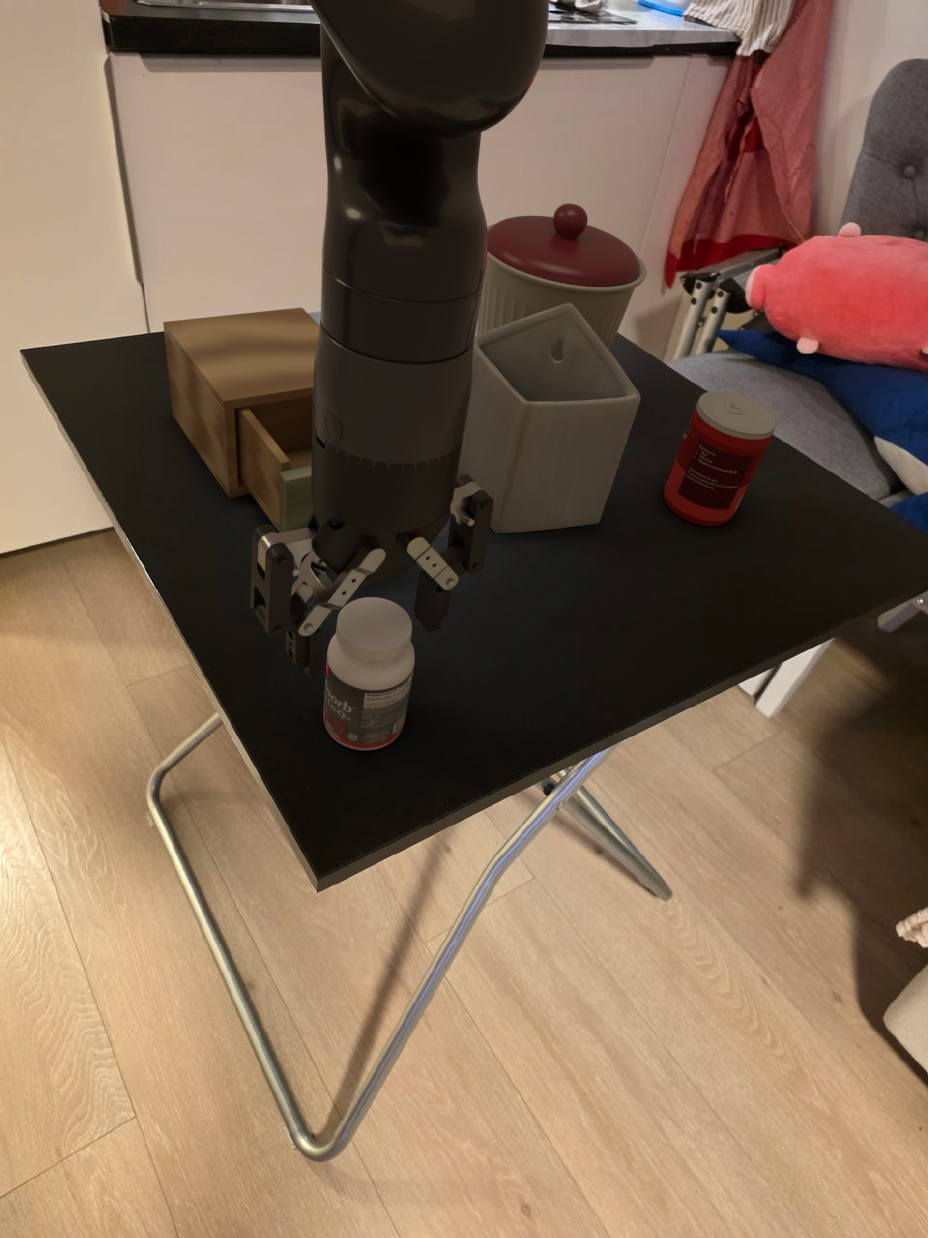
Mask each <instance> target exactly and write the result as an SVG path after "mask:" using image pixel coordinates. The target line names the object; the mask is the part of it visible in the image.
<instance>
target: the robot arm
mask: <svg viewBox="0 0 928 1238" xmlns="http://www.w3.org/2000/svg"><path fill="white" fill-rule="evenodd" d="M307 2H308V4H309V5H310V7H311V9H312V10H313V12H314V13H315V15H316V17H317V18H318V20H319V40H320V41H319V42H320V43H319V44H320V69H321V70H320V73H321V75H320V76H321V96H322V112H323V115H322V116H323V132H324V150H325V160H326V161H325V162H326V176H327V179H326V181H327V182H326V183H327V184H326V203H325V215H324V216H325V217H324V224H323V225H324V226H323V233H322V234H323V235H322V245H321V286H320V287H321V288H320V319H319V325H320V329H319V337H318V343H317V348H316V354H315V361H314V372H313V420H312V466H311V489H312V498H313V510H312V513H311V516H310V518H309V519H308V521H307V523H306V525H305V528H301V529H297V530H292V531H287V532H282V533H279V532H278V531H277V530H276V528H275V527H273V526H272V525H270V524H267V523H265V524H262V525H259V526H258V527H256V528H255V530H254V531H252V532H253V533H252V538H251V539H252V543H251V569H250V570H251V571H250V572H251V573H250V603H249V605H250V608H251V610H252V611H253V613H254V614H255V615H256V616H257V618H258V619H259V621H260V623H261V624H262V626H263V627H264V630H265V633H266V634H267V635H268V637H270V638H272V639H278V638H281V637H283V636H285V651H286V653H287V654H288V656H289V658H290V659H291V661H292V663H293V664H294V665H295V667H296V668H297V670H298V671H300V670H303V672H304V673H305V674H306V676H310V675H314V674H316V673H319V672H320V671H321V654H322V650H321V649H322V630H321V629H320V626H321V625H322V624H323V622H324V621H325V620H326V619H327V618H328V616H329V615H330V613H332V611H333V610H335V609H336V610H342V609H343V607H344V606H346V605H347V602H348V601H349V600H350V599H351V597H352V596H353V595H354V593H355V592H356V591H357V590H358V589H362V588H363V587H367V586H371V585H373V584H375V583H377V582H379V581H381V580H383V579H386V578H387V579H388V578H397V577H401V576H404V575H406V574H408V570H409V569H411V568H412V567H413V566H414V565H415V564H416V563H417V564H418V565H419V566H420V567H421V568H422V569H423V570H420V571H419V572H418V577H417V584H416V585H417V586H416V591H415V597H414V598H415V600H414V606H413V612H414V616H415V618H416V619H417V620H418V622H419V623H420V624H421V626H422V627H423V628H424V629H425V630H426V631H427V632H428V633H431V632H432V633H433V632H435V631H437V630H440V628H441V625H442V621H443V620H445V618H446V616H447V615H448V611H449V606H450V601H451V597H452V596H451V595H452V590H453V589H454V587H456V586H457V585H458V583H459V580H460V578H459V577H461V576H463V575H464V574H466V573H468V574H469V575H473V576H474V575H476V574H478V573H479V572H481V571H482V569H483V568H484V566H485V561H486V555H487V549H488V541H489V534H490V529H491V528H490V523H491V516H492V510H493V503H494V501H493V499H492V498H491V497H490V496H489V495H488V494H487V493H486V492H485V491H484V490H483V489H482V488H481V487H480V486H479V485H478V484H477V483H476V482H475V481H474V480H473V479H472V478H471V477H470V476H469V475H466V474H465V475H462V476H460V477H459V478H458V479H457V480H456V478H457V472H458V466H459V460H460V454H461V448H462V443H463V437H464V431H465V425H466V419H467V413H468V407H469V401H470V395H471V388H472V361H473V346H474V337H476V332H477V324H478V313H479V307H480V301H481V295H482V288H483V282H484V278H485V270H486V262H487V251H488V231H487V227H488V222H487V218H486V213H485V210H484V205H483V202H482V198H481V193H480V185H479V160H480V151H481V142H482V141H481V140H482V133H483V132H485V131H487V130H489V129H491V128H493V127H495V126H496V125H498V124H499V123H500V122H502V121H503V120H504V119H506V118H508V116H509V115H510V114H511V113H512V112H513V111H514V110H515V109H516V108H517V106H518V105H519V104H520V103H521V102H522V100H523V99H524V98H525V96H526V95H527V93H528V92H529V89H530V88H531V86H532V84H533V83H534V80H535V79H536V76H537V74H538V72H539V69H540V67H541V64H542V61H543V56H544V53H545V49H546V44H547V39H548V31H549V20H550V19H549V18H550V4H549V3H550V0H307ZM448 522H449V527H448V528H449V529H448V539H447V547H446V549H445V550H444V551H441V552H440V553H439V552H437V551H436V549H435V548H434V547H433V546H432V545H431V544H432V543H433V542H434V540H435V539H436V538H437V537H438V536H439V534H440V533H441V532H442V530H443V529H444V527H445V526H446V525H447V523H448ZM309 552H310V553H309ZM307 553H309V554H307ZM304 557H305V558H304ZM327 567H328V568H329V569H331V570H332V571H333V573H335V574H336V575H337V576H338V577H337V578H336V579H335V581H334V582H332V580H331V579H330V577H329V576H328V575H327ZM293 577H297V579H296V580H295V582H293ZM312 596H313V600H311V602H310V603H309V605H308V604H307V602H308V601H309V600H310V598H311V597H312Z"/></svg>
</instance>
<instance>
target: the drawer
mask: <svg viewBox="0 0 928 1238" xmlns="http://www.w3.org/2000/svg"><path fill="white" fill-rule="evenodd" d="M312 420H313V396H308V397H302V398H296V399H290V400H284V401H278V402H272V403H266V404H260V405H254V406H248V407H242V408H236V409H235V430H236V451H237V473H238V476H239V477H240V478H241V480H242V481H243V483H244V484H245V485H246V487H247V488H248V490H249V491H250V492H251V494H250V495H251V496H252V497H253V499H254V500H255V501H256V503H257V504H258V505H259V507H260V508H261V509H262V511H263V513H265V515H266V517H267V518H268V519H269V521H270V522H271V524H272V525H273V526H274V528H275V530H276V531H277V533H282V532H287V531H292V530H297V529H301V528H305V525H306V523H307V521H308V519H309V518H310V516H311V513H312V510H313V498H312V489H311V466H312ZM309 553H310V552H309ZM309 553H307V554H306V555H308V554H309Z"/></svg>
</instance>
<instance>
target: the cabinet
mask: <svg viewBox="0 0 928 1238" xmlns="http://www.w3.org/2000/svg"><path fill="white" fill-rule="evenodd" d="M162 323H163V334H164V342H165V352H166V353H165V354H166V361H167V362H166V363H167V370H168V380H169V391H170V399H171V408H172V409H171V410H172V417H173V418H174V420H175V421H176V423H177V424H178V425H179V427H180V429H181V430H182V432H183V433H184V434H185V436H186V437H187V439H188V440H189V442H190V443H191V444H192V447H194V449H195V450H196V452H197V453H198V455H199V456H200V457H201V460H203V462H204V464H205V465H206V466H207V468H208V469H209V471H210V472H211V474H212V476H213V477H214V478H215V480H216V482H217V483H218V484H219V486H220V487H221V488H222V490H223V491H224V493H225V495H227V497H228V499H233V498H238V497H243V496H247V495H252V494H251V492H250V491H249V490H248V488H247V487H246V485H245V484H244V483H243V481H242V480H241V478H240V477H239V476H238V473H237V451H236V430H235V409H236V408H242V407H248V406H254V405H260V404H266V403H272V402H278V401H284V400H290V399H296V398H302V397H308V396H313V372H314V361H315V354H316V348H317V343H318V337H319V329H320V323H318V322H317V321H316V320H315V319H314V318H313V317H312V316H311V315H310V314H309V312H307V311H306V310H305V309H304V308H303V307H292V308H284V309H283V308H282V309H275V310H274V309H273V310H265V311H264V310H263V311H255V312H254V311H253V312H247V313H246V312H245V313H235V314H228V315H227V314H226V315H215V316H207V317H199V318H197V317H196V318H188V319H180V320H179V319H178V320H171V321H169V320H168V321H163V322H162Z"/></svg>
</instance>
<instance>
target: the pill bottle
mask: <svg viewBox="0 0 928 1238" xmlns="http://www.w3.org/2000/svg"><path fill="white" fill-rule="evenodd" d="M412 632H413V622H412V619H411V617H410V615H409V613H408V612H407V610H405V609H404V607H402V606H401V605H399V604H398V603H396V602H394V601H392V600H389V599H386V598H383V597H376V596H375V597H374V596H367V597H361V598H356V599H355V600H352V601H350V602H348V603H346V604H345V605H344V606H343V607H342V608H341V609H340V612H339V613H338V616H337V618H336V628H335V634H333V636H332V637H331V639H330V641H329V644H328V647H327V651H326V664H325V665H326V666H325V667H326V668H325V681H324V682H325V683H324V696H323V697H324V698H323V708H322V710H323V711H322V716H323V723H324V726H325V729H326V731H327V732H328V734H329V735H330V737H331V738H332V739H333V740H335V742H337V743H339V744H340V745H341V746H344V747H345V748H349V749H351V750H355V751H373V750H374V751H375V750H378V749H382V748H384V747H387V746H388V745H390V744H391V743H392V742H394V741H395V740H396V739H397V738H398V737H399V735H400V734H401V732H402V731H403V728H404V725H405V722H406V716H407V715H406V714H407V710H408V704H409V699H410V692H411V687H412V681H413V675H414V670H415V662H416V661H415V660H416V659H415V658H416V654H415V648H414V645H413V644H412V641H411V640H412Z"/></svg>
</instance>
